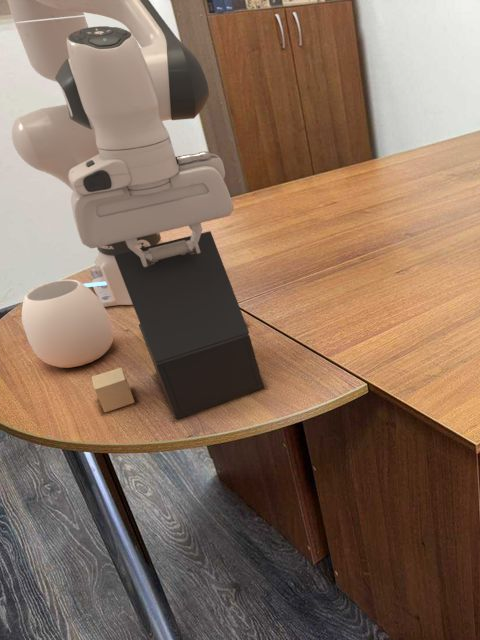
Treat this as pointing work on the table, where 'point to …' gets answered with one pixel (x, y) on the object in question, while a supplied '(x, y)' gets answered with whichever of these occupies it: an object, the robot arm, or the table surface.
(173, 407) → the dark grey box
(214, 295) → the lid
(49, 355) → the cream round vase
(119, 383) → the block
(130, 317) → the table surface
